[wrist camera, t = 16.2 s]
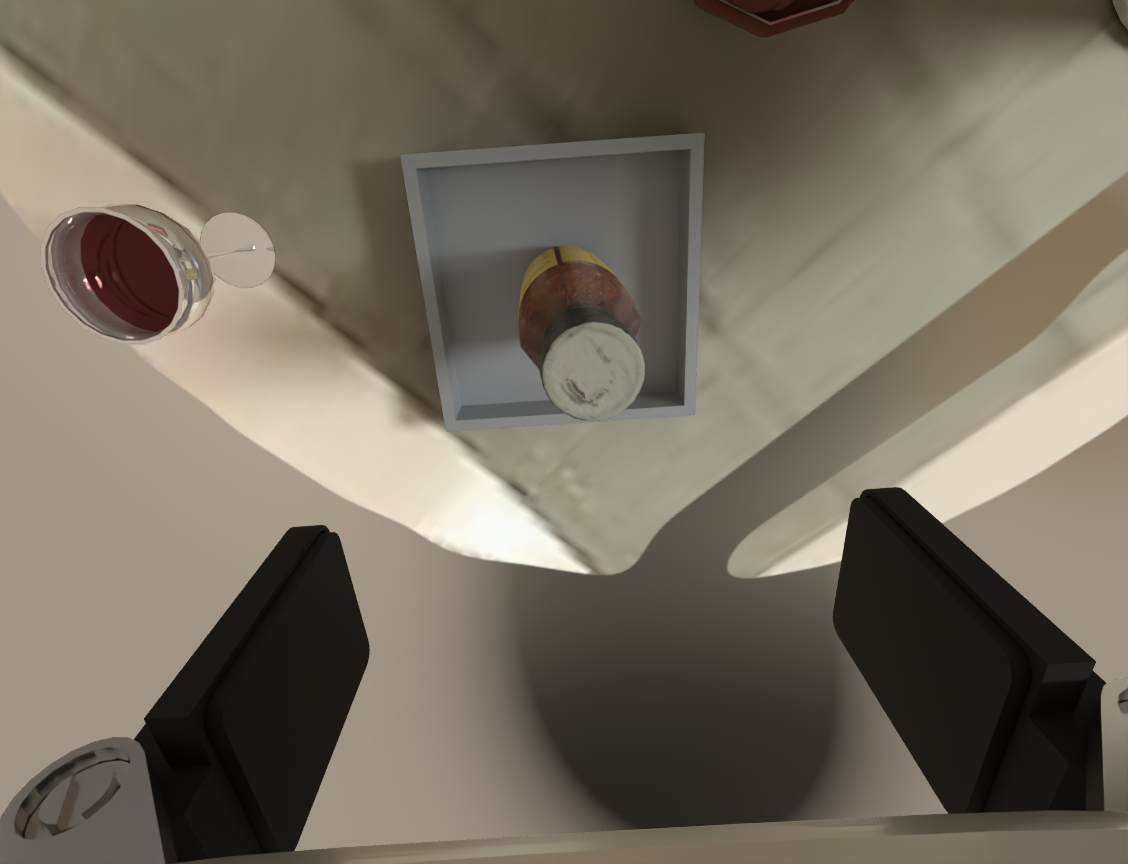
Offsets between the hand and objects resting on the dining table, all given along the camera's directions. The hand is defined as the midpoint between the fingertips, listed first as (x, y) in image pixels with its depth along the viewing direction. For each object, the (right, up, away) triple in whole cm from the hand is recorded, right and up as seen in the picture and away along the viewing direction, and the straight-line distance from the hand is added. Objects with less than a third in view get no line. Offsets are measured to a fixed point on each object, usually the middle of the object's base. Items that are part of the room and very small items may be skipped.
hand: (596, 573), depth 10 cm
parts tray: (-1, +13, +30) cm, 32 cm away
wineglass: (-23, +15, +28) cm, 40 cm away
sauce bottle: (0, +13, +29) cm, 32 cm away
